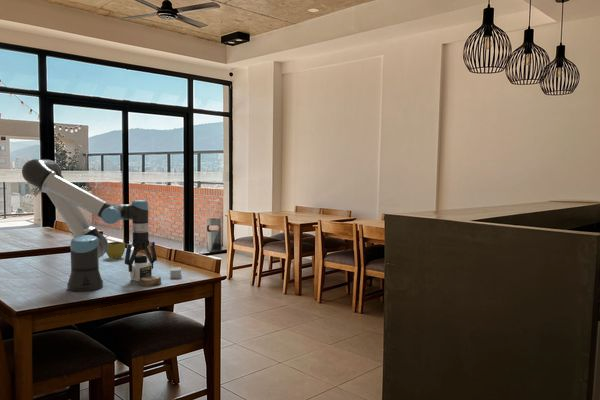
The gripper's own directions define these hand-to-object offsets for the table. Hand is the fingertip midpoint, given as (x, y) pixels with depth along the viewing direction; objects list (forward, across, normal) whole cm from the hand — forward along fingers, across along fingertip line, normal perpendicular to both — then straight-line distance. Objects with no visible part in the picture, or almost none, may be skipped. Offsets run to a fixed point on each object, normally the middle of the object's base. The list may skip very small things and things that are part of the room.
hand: (141, 276), depth 237 cm
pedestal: (+1, 0, -10) cm, 10 cm away
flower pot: (+2, +10, +61) cm, 62 cm away
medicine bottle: (+2, 0, 0) cm, 2 cm away
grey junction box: (+2, +16, -4) cm, 17 cm away
